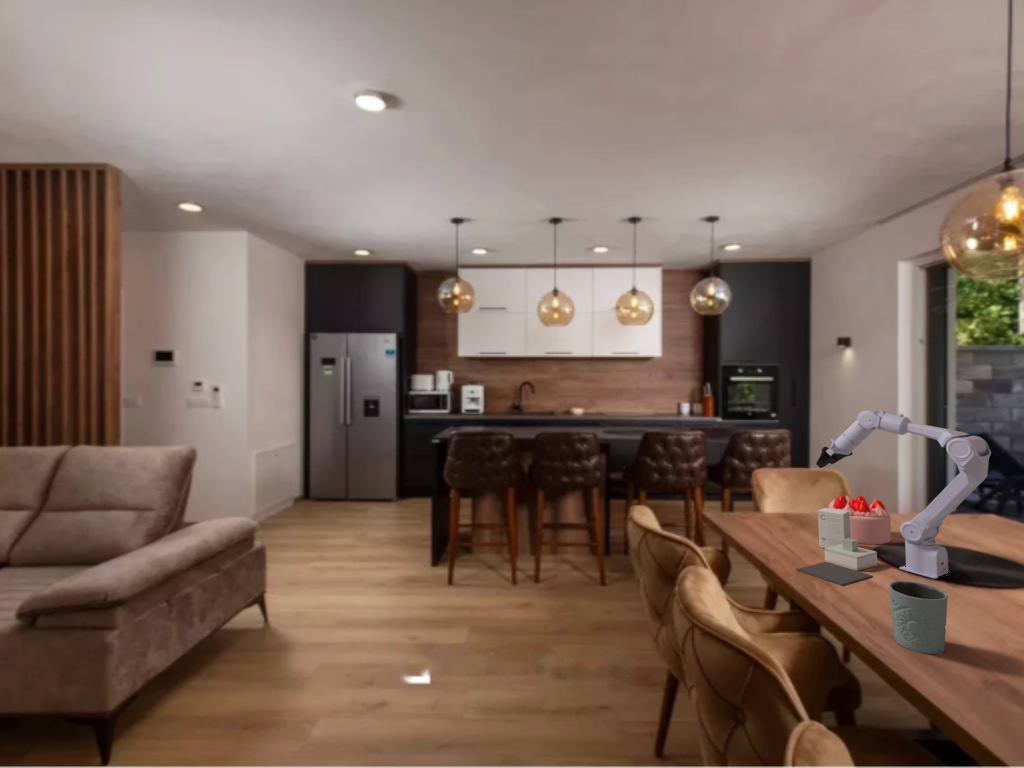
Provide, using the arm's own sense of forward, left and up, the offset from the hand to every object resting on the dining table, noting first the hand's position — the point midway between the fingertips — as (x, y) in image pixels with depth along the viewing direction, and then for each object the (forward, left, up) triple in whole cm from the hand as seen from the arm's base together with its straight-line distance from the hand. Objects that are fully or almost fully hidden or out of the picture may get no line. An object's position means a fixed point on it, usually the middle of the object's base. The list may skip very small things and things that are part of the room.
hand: (824, 464), depth 176 cm
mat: (-17, +22, -29) cm, 40 cm away
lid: (-14, +9, -26) cm, 31 cm away
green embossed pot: (-52, +47, -29) cm, 76 cm away
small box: (-2, -2, -30) cm, 30 cm away
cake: (+2, -22, -30) cm, 37 cm away
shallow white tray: (-14, +9, -29) cm, 33 cm away
